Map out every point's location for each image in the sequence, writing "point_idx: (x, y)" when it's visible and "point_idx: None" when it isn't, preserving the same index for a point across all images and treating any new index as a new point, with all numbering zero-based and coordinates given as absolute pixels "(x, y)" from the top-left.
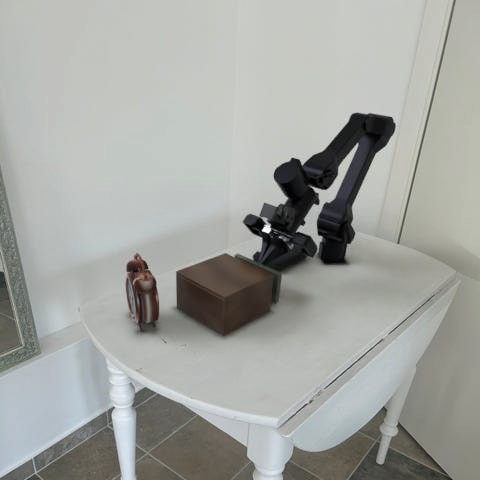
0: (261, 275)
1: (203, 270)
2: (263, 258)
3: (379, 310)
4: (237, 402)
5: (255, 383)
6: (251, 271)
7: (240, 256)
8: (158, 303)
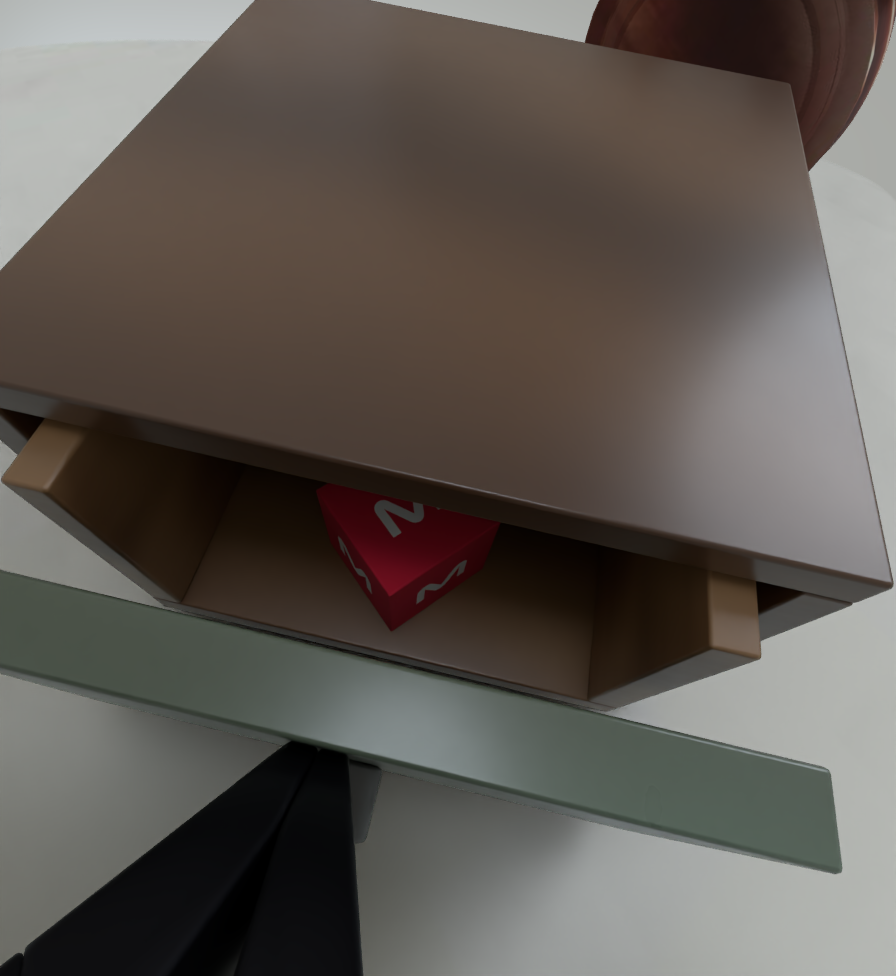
0: (88, 283)
1: (663, 150)
2: (238, 828)
3: None
4: (110, 57)
5: (74, 117)
6: (248, 309)
7: (714, 770)
8: (596, 7)
